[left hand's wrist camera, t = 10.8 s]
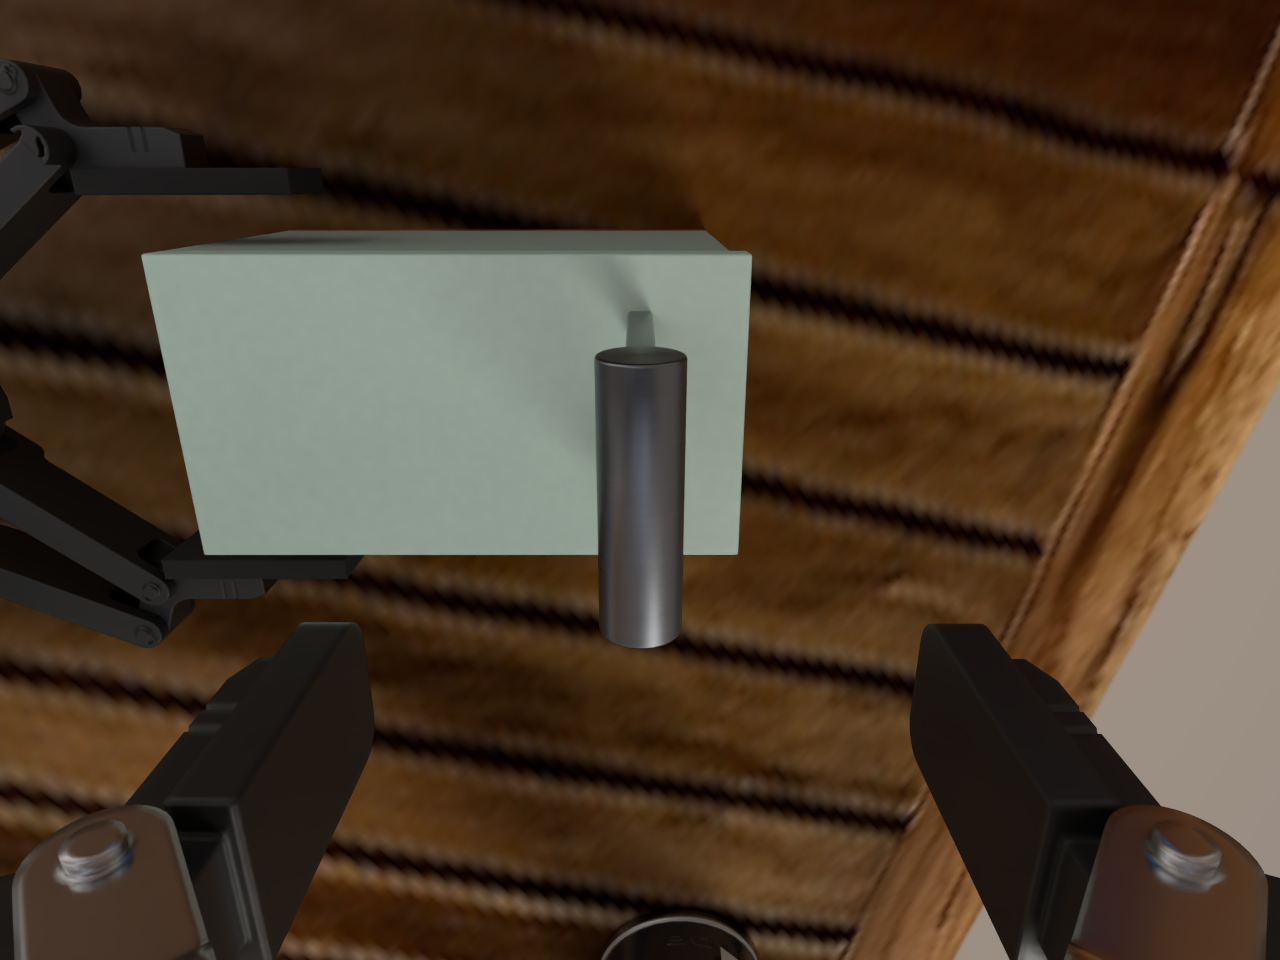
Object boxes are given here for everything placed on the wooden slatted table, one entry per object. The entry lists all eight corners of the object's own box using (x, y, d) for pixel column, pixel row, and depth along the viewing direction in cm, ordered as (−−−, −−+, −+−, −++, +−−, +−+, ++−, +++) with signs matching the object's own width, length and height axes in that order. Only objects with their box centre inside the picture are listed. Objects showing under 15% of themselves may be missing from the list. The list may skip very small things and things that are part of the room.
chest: (705, 229, 33) (731, 250, 24) (699, 448, 36) (720, 541, 27) (294, 229, 33) (160, 250, 24) (326, 448, 36) (219, 541, 27)
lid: (748, 250, 24) (806, 291, 15) (734, 541, 27) (776, 703, 19) (160, 250, 24) (-97, 291, 15) (219, 541, 27) (34, 703, 19)
